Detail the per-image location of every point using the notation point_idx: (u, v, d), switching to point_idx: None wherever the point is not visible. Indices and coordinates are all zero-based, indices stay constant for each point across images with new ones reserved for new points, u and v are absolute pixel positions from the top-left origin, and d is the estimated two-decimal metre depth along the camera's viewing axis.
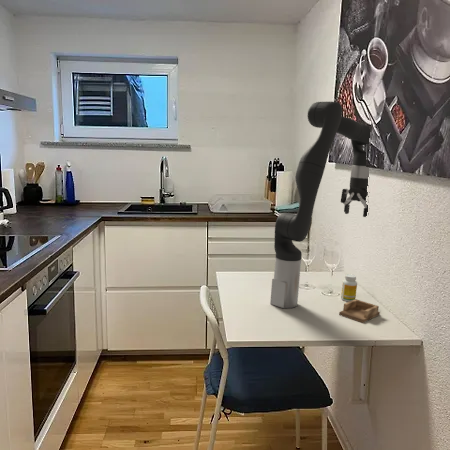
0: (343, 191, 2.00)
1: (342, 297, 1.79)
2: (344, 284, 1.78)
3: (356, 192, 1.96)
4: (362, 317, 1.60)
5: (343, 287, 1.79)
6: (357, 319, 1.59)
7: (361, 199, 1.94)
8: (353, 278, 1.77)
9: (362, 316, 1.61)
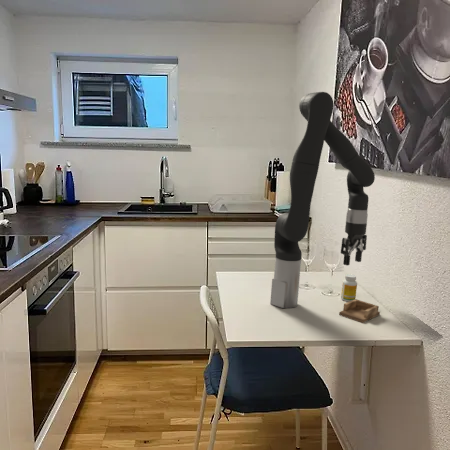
0: (348, 241, 1.71)
1: (342, 297, 1.79)
2: (344, 284, 1.78)
3: (357, 238, 1.75)
4: (362, 317, 1.60)
5: (343, 287, 1.79)
6: (357, 319, 1.59)
7: (361, 244, 1.77)
8: (353, 278, 1.77)
9: (362, 316, 1.61)
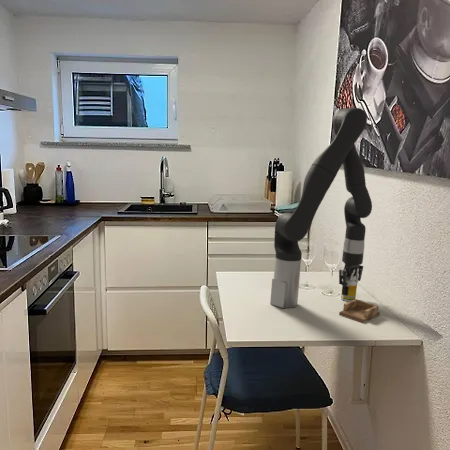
0: (345, 273, 1.73)
1: (342, 297, 1.79)
2: None
3: (354, 268, 1.77)
4: (362, 317, 1.60)
5: None
6: (357, 319, 1.59)
7: (357, 274, 1.79)
8: (353, 278, 1.77)
9: (362, 316, 1.61)
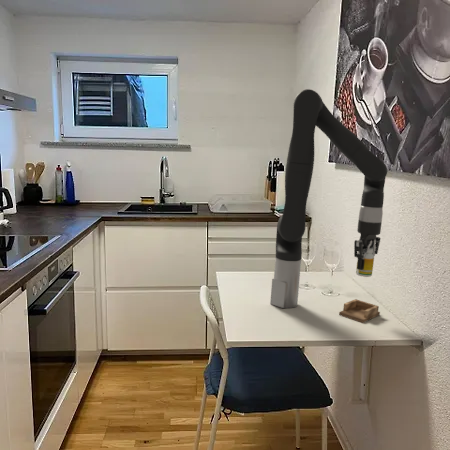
0: (361, 244, 1.55)
1: (357, 272, 1.61)
2: None
3: (370, 239, 1.59)
4: (362, 317, 1.60)
5: None
6: (357, 319, 1.59)
7: (374, 246, 1.61)
8: (370, 250, 1.59)
9: (362, 316, 1.61)
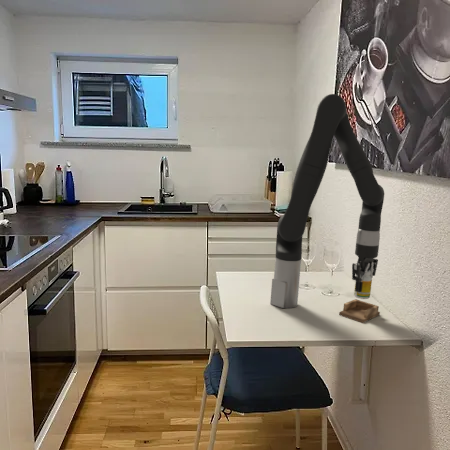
0: (359, 267, 1.57)
1: (355, 294, 1.63)
2: None
3: (368, 261, 1.61)
4: (362, 317, 1.60)
5: None
6: (357, 319, 1.59)
7: (372, 269, 1.63)
8: (368, 273, 1.60)
9: (362, 316, 1.61)
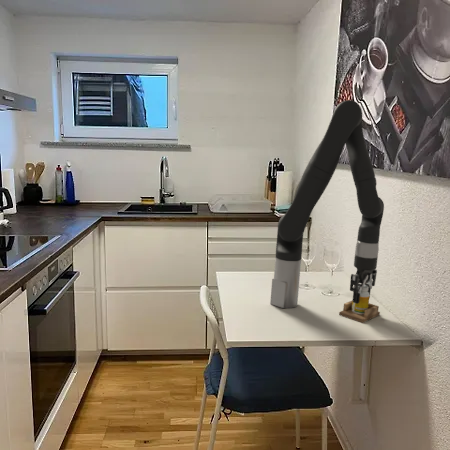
0: (358, 278, 1.57)
1: (353, 309, 1.64)
2: None
3: (366, 273, 1.61)
4: (362, 317, 1.60)
5: None
6: (357, 319, 1.59)
7: (371, 280, 1.63)
8: (365, 289, 1.61)
9: (362, 316, 1.61)
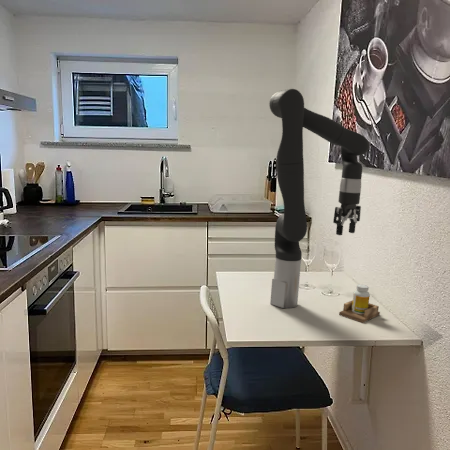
0: (341, 210, 1.69)
1: (353, 309, 1.64)
2: (355, 295, 1.62)
3: (350, 208, 1.73)
4: (362, 317, 1.60)
5: (354, 298, 1.63)
6: (357, 319, 1.59)
7: (355, 215, 1.75)
8: (365, 289, 1.61)
9: (362, 316, 1.61)
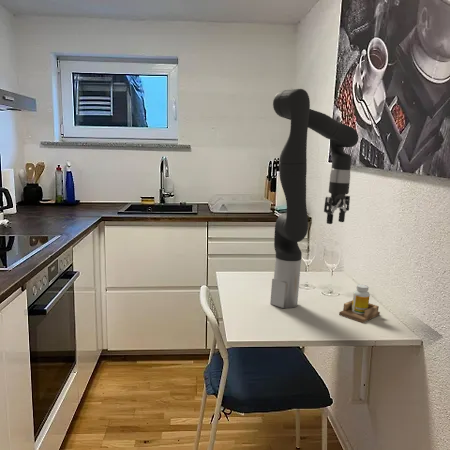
0: (331, 200, 1.77)
1: (353, 309, 1.64)
2: (355, 295, 1.62)
3: (340, 198, 1.81)
4: (362, 317, 1.60)
5: (354, 298, 1.63)
6: (357, 319, 1.59)
7: (344, 204, 1.83)
8: (365, 289, 1.61)
9: (362, 316, 1.61)
